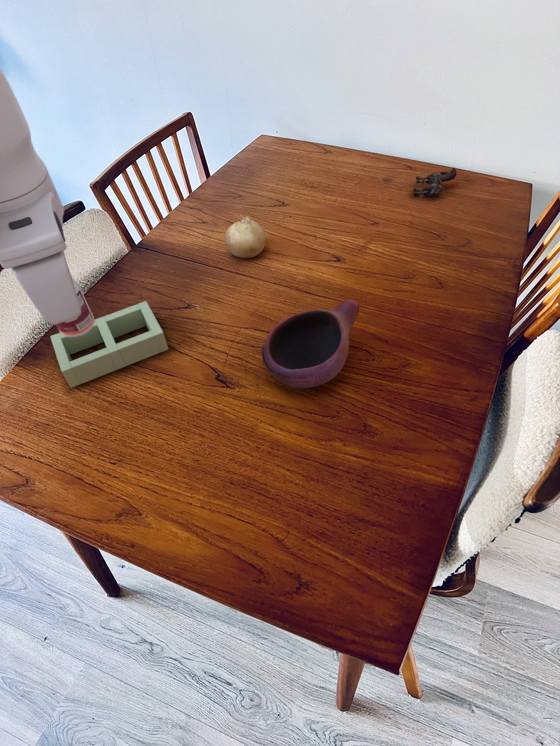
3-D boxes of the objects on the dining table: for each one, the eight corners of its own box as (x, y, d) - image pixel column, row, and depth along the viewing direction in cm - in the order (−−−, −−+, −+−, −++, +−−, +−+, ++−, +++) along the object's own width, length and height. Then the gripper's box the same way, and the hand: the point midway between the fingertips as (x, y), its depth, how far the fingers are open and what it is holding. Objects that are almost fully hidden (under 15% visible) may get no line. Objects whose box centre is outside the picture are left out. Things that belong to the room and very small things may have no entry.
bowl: (333, 410, 76) (334, 374, 70) (253, 389, 80) (247, 354, 74) (361, 336, 86) (364, 299, 80) (288, 320, 89) (286, 284, 83)
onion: (273, 256, 102) (270, 224, 96) (236, 268, 100) (231, 237, 94) (257, 235, 107) (253, 204, 101) (221, 247, 105) (215, 216, 99)
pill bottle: (59, 318, 70) (32, 268, 64) (94, 310, 71) (71, 259, 64) (59, 342, 67) (31, 292, 61) (96, 333, 68) (72, 282, 61)
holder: (71, 388, 82) (61, 371, 79) (59, 352, 88) (50, 336, 85) (168, 349, 87) (163, 332, 84) (151, 317, 92) (146, 300, 89)
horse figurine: (383, 207, 115) (454, 202, 110) (380, 192, 112) (453, 186, 107) (389, 183, 120) (457, 176, 114) (387, 167, 117) (457, 160, 111)
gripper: (-24, 173, 61) (27, 268, 71) (-2, 266, 49) (56, 364, 59) (31, 158, 63) (73, 253, 73) (65, 244, 50) (109, 344, 61)
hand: (65, 303), depth 66 cm, fingers closed on pill bottle, 5 cm apart
